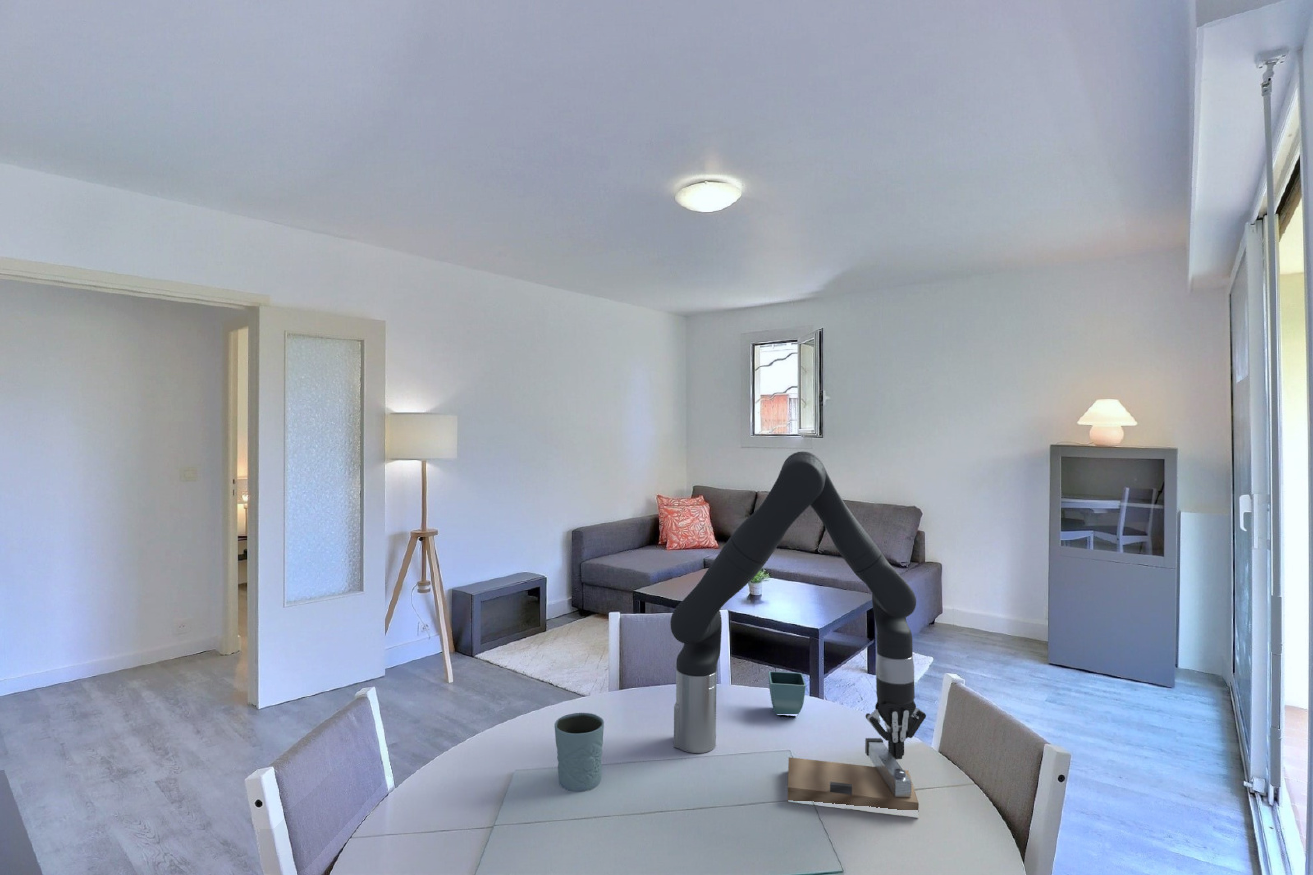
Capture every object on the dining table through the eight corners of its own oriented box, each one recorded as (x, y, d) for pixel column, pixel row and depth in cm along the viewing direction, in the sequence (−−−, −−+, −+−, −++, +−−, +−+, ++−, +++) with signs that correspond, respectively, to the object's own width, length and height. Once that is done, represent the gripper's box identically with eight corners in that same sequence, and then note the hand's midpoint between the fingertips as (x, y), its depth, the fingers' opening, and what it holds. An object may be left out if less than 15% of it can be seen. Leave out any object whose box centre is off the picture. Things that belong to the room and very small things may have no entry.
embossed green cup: (595, 796, 132) (595, 736, 132) (546, 790, 134) (547, 731, 134) (609, 770, 142) (609, 714, 142) (563, 765, 144) (564, 709, 144)
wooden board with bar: (787, 802, 131) (787, 779, 131) (788, 771, 142) (788, 750, 142) (918, 818, 126) (918, 794, 126) (908, 785, 137) (908, 763, 137)
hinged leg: (912, 797, 127) (912, 776, 127) (894, 796, 127) (894, 776, 127) (881, 753, 144) (881, 735, 144) (865, 753, 144) (865, 735, 144)
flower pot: (801, 706, 175) (802, 672, 175) (805, 721, 167) (806, 685, 166) (767, 704, 176) (768, 670, 176) (769, 719, 168) (770, 683, 167)
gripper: (874, 685, 135) (875, 770, 136) (934, 679, 137) (935, 763, 138) (856, 671, 143) (858, 752, 143) (914, 666, 145) (915, 745, 145)
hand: (896, 757), depth 140 cm, fingers closed
